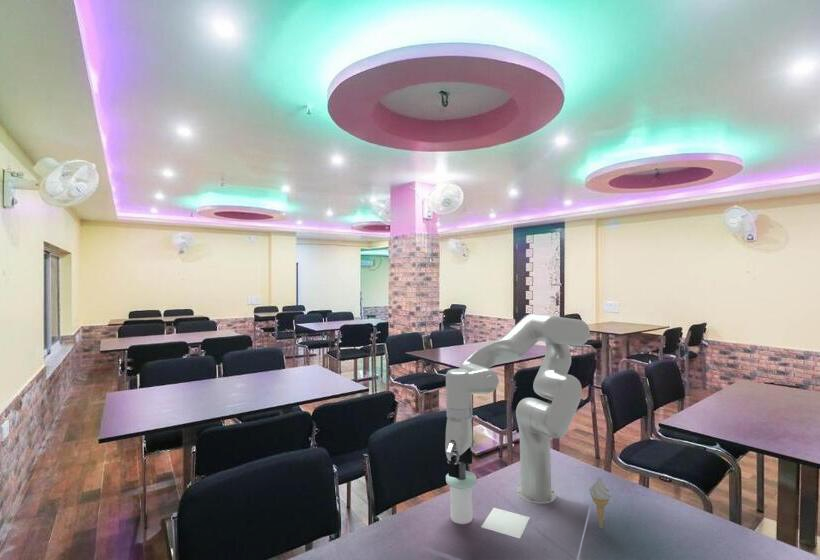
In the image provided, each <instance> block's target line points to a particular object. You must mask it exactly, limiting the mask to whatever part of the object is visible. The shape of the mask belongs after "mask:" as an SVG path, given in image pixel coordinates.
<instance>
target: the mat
mask: <svg viewBox="0 0 820 560" xmlns="http://www.w3.org/2000/svg"><path fill="white" fill-rule="evenodd" d="M529 521H530V516H526V515H522V514H520V513H516V512H511V511H507V510H504V509H500V508H497V507H493V508H492V509H491V511H490V512H489V514H488V515H487V517H486V519H485V520H484V522H483V523H482V525H481V526H480V528H483V529H485V530H486V529H487V530H490V531H493V532H495V533H499V534H503V535H506V536H508V537H512V538H516V539H519V540H520V539H521V538H522V535H523V533H524V531H525V529H526V527H527V525H528V522H529Z"/></svg>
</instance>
